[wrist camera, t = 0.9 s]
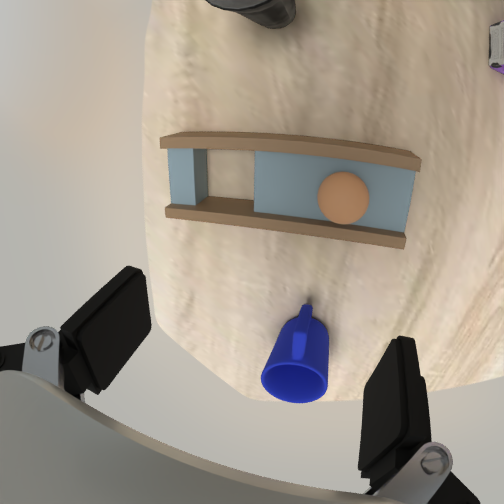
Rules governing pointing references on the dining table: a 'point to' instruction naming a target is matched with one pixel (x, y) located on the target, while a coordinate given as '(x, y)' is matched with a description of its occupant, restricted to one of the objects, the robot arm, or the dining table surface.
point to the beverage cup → (261, 10)
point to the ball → (343, 197)
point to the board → (294, 184)
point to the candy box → (497, 47)
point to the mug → (299, 360)
